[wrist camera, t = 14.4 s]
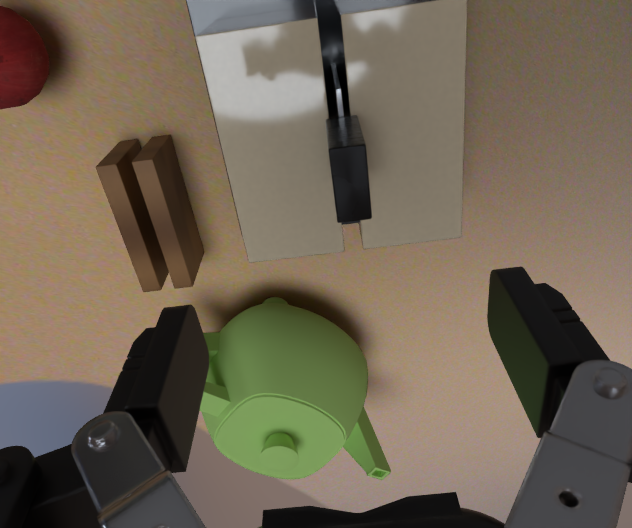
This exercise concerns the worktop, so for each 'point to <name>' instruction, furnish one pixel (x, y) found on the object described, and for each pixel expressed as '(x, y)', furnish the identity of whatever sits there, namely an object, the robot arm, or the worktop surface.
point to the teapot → (288, 393)
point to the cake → (319, 104)
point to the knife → (348, 162)
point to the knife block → (153, 211)
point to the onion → (20, 60)
